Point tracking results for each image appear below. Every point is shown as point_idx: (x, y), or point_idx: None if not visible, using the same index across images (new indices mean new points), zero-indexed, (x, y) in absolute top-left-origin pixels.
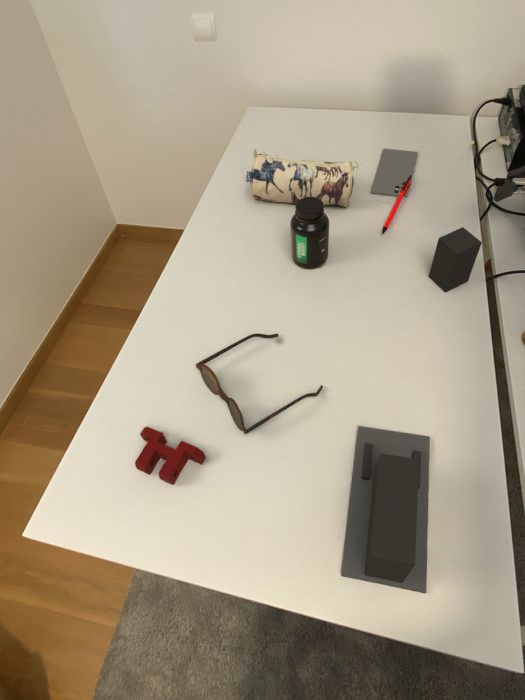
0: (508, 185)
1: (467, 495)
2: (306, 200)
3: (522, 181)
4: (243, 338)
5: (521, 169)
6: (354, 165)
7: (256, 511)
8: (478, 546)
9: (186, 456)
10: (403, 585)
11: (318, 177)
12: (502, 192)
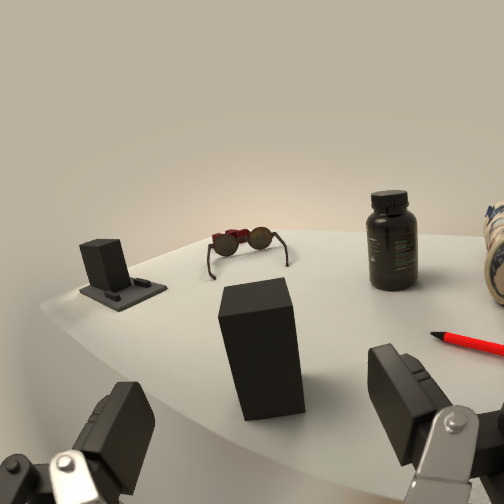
0: (413, 383)
1: (77, 314)
2: (398, 191)
3: (432, 450)
4: (284, 242)
5: None
6: None
7: (172, 261)
8: (63, 309)
9: None
10: (89, 285)
11: (496, 229)
12: (377, 367)
